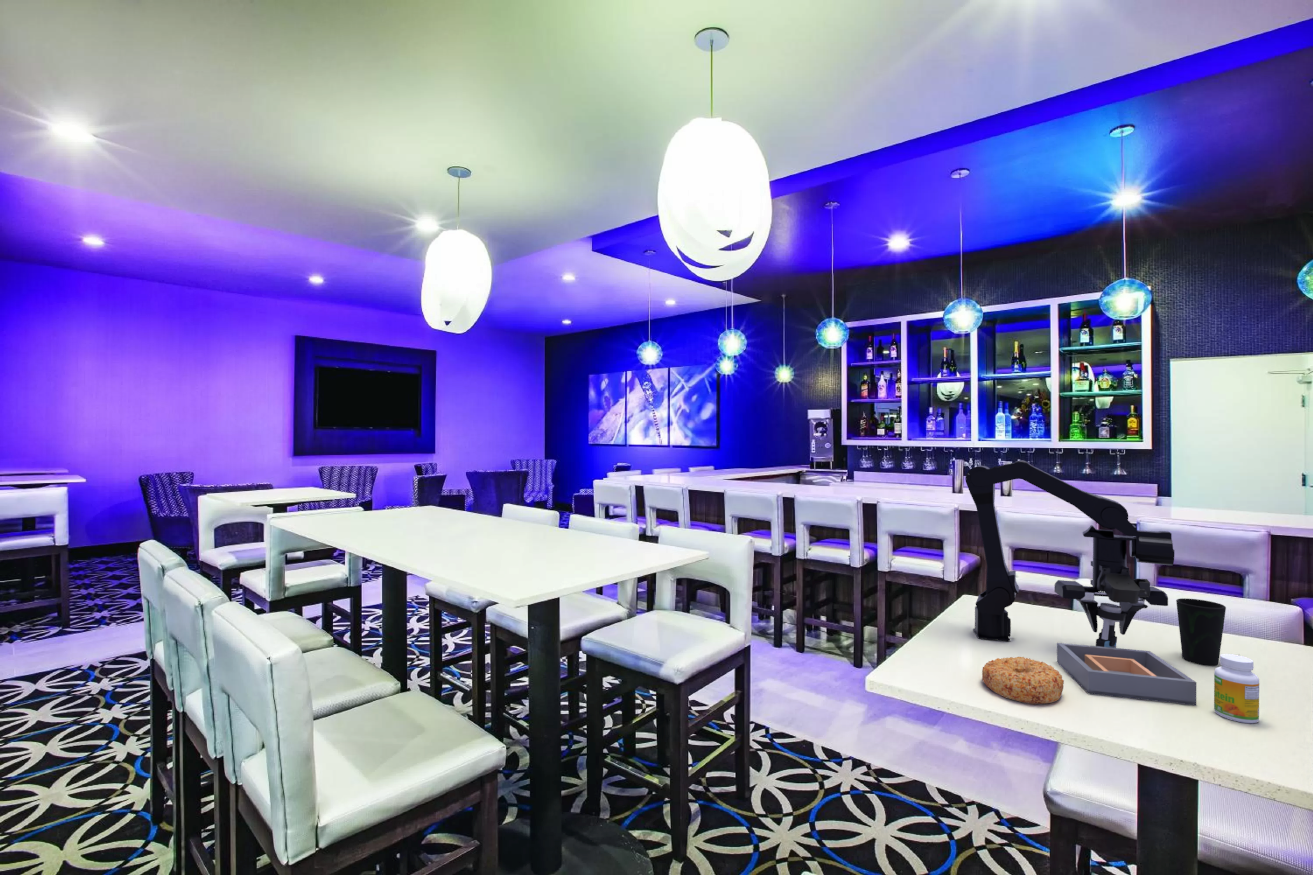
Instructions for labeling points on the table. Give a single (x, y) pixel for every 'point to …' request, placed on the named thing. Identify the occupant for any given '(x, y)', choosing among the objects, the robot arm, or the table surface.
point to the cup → (1200, 630)
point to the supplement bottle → (1236, 689)
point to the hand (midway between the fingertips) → (1108, 632)
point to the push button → (1109, 624)
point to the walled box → (1125, 673)
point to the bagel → (1023, 680)
